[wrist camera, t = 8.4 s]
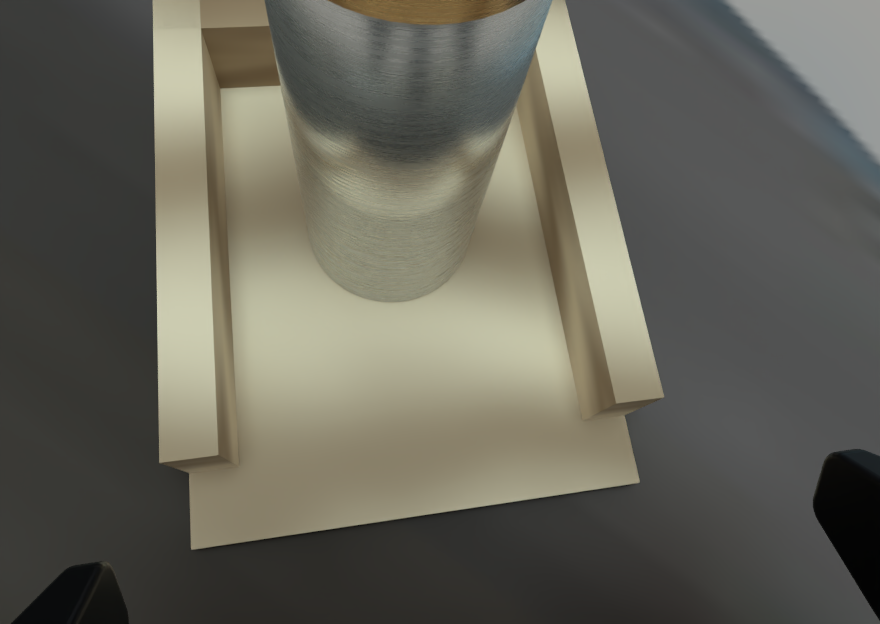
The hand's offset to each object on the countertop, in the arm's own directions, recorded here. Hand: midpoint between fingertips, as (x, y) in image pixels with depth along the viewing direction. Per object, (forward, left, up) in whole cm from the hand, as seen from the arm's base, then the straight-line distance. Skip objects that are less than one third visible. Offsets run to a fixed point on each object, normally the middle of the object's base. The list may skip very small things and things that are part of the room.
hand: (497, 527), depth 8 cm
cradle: (+8, 0, -9) cm, 13 cm away
